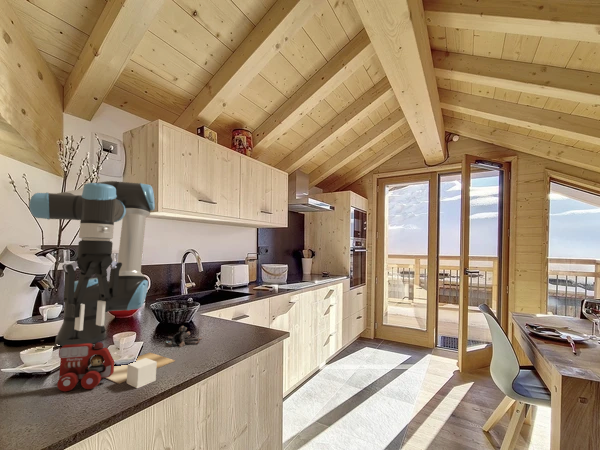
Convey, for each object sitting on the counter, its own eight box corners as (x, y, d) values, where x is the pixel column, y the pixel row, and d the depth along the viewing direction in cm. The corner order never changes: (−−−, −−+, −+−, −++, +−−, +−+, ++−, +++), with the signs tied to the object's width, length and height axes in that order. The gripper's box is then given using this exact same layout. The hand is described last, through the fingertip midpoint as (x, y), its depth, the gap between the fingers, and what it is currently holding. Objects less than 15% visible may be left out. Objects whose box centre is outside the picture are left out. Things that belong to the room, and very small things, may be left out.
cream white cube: (126, 383, 73) (127, 364, 73) (144, 376, 77) (146, 357, 78) (137, 388, 70) (138, 368, 71) (155, 380, 75) (156, 361, 75)
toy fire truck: (106, 388, 70) (108, 346, 71) (48, 393, 67) (51, 350, 68) (117, 375, 77) (119, 337, 77) (66, 380, 74) (68, 340, 75)
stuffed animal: (196, 345, 99) (170, 325, 100) (180, 367, 99) (153, 348, 99) (207, 334, 111) (183, 316, 112) (192, 354, 111) (169, 337, 111)
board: (93, 372, 79) (93, 371, 79) (149, 353, 93) (149, 352, 93) (118, 384, 72) (118, 383, 72) (175, 361, 87) (175, 360, 87)
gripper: (64, 238, 66) (55, 339, 64) (135, 240, 81) (130, 321, 79) (49, 238, 69) (41, 333, 67) (121, 240, 85) (116, 318, 83)
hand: (89, 327), depth 73 cm, fingers open, 4 cm apart
